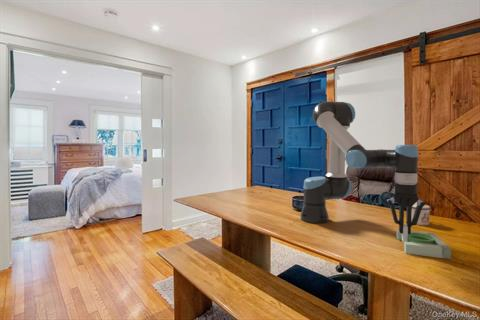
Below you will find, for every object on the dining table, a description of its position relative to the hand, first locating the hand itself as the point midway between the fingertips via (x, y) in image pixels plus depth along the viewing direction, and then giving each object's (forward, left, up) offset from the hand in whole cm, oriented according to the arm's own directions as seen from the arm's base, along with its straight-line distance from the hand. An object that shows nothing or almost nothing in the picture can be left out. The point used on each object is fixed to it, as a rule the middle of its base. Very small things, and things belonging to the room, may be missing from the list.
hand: (404, 241), depth 101 cm
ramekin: (+5, 0, -2) cm, 5 cm away
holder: (+5, 0, -2) cm, 5 cm away
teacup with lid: (+14, +38, -2) cm, 41 cm away
